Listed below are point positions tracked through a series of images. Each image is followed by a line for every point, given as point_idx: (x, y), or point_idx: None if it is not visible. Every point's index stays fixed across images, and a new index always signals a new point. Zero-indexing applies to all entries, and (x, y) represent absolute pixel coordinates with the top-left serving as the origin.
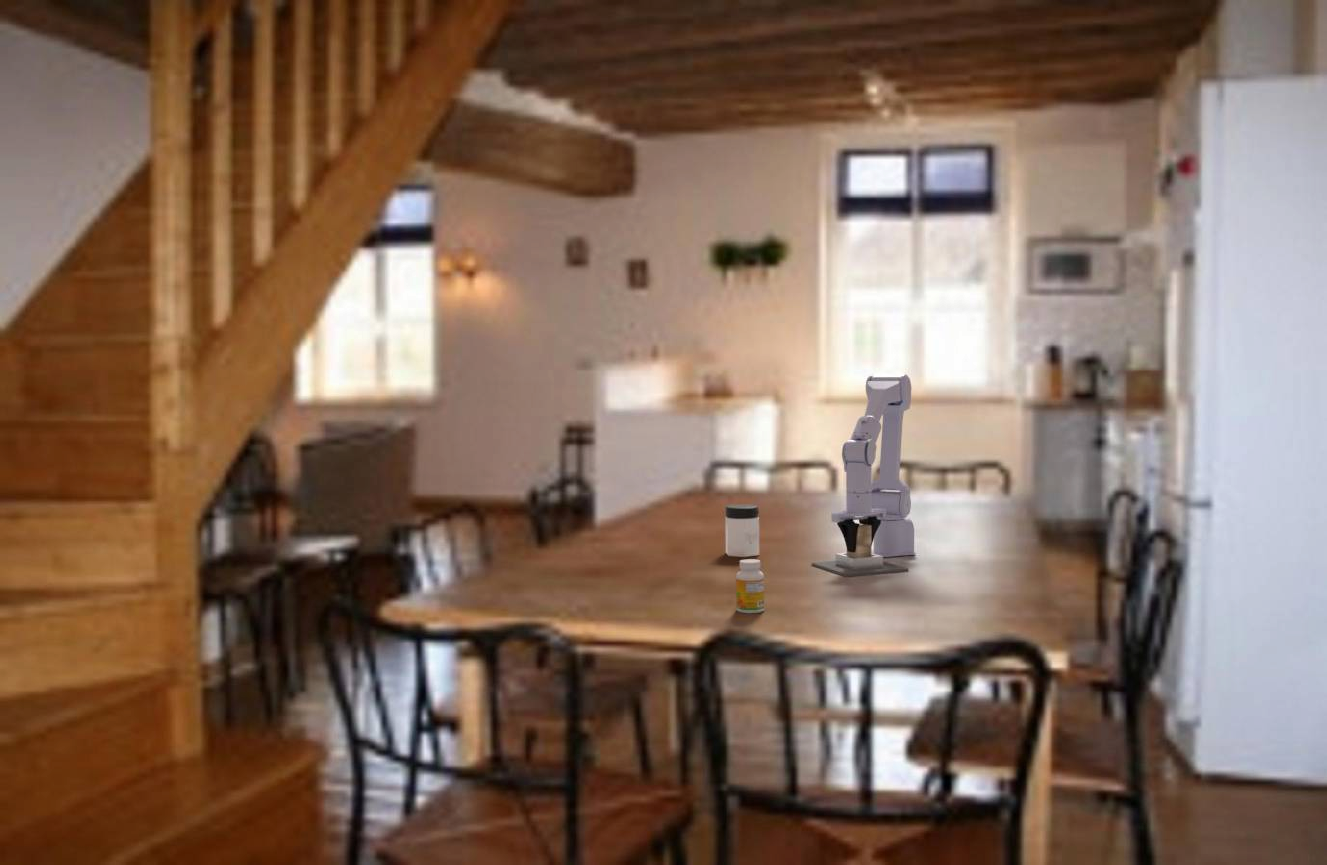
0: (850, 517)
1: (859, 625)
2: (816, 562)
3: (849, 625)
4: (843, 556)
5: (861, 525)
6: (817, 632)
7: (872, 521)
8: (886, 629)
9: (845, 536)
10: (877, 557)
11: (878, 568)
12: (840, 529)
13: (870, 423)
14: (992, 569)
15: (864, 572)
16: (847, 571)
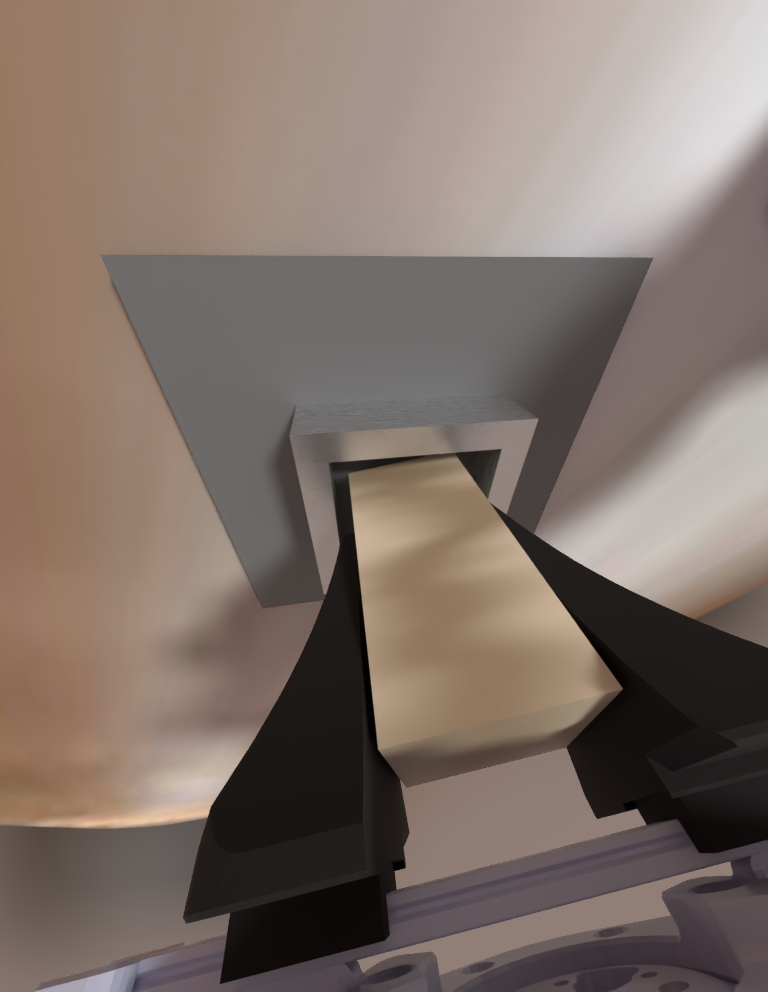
0: (361, 978)
1: (179, 793)
2: (154, 266)
3: (164, 795)
4: (308, 522)
5: (499, 752)
6: (110, 810)
7: (596, 800)
8: (212, 794)
9: (329, 634)
10: None
11: None
12: (270, 715)
13: None
14: (685, 585)
15: None
16: (285, 574)
